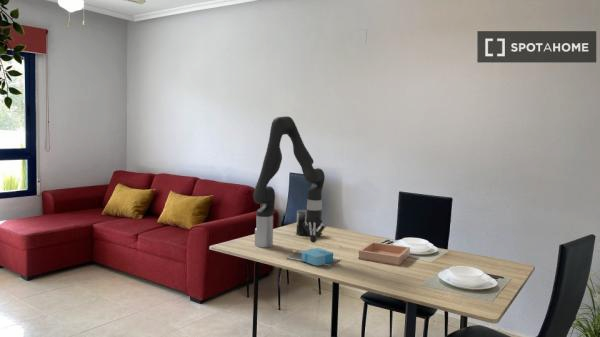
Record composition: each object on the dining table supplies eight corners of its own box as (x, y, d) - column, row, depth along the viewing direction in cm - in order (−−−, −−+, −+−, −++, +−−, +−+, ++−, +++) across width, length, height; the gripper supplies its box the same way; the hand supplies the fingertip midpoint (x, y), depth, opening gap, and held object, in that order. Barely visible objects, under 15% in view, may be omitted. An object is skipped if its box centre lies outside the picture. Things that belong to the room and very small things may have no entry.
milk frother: (295, 232, 285) (295, 209, 283) (320, 232, 286) (320, 209, 285) (297, 238, 271) (297, 213, 269) (323, 238, 272) (323, 214, 270)
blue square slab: (300, 260, 225) (317, 266, 216) (300, 251, 224) (317, 257, 216) (317, 256, 233) (334, 261, 224) (317, 247, 233) (334, 252, 224)
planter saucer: (358, 259, 231) (358, 250, 231) (371, 249, 249) (371, 241, 248) (399, 265, 221) (399, 257, 221) (409, 255, 239) (410, 247, 238)
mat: (286, 258, 229) (286, 257, 229) (298, 253, 240) (298, 251, 240) (329, 266, 218) (329, 265, 218) (339, 260, 228) (339, 259, 228)
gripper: (299, 208, 226) (298, 242, 228) (323, 211, 220) (322, 245, 221) (305, 205, 233) (305, 238, 234) (329, 208, 226) (328, 242, 228)
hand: (313, 242), depth 228 cm, fingers closed
